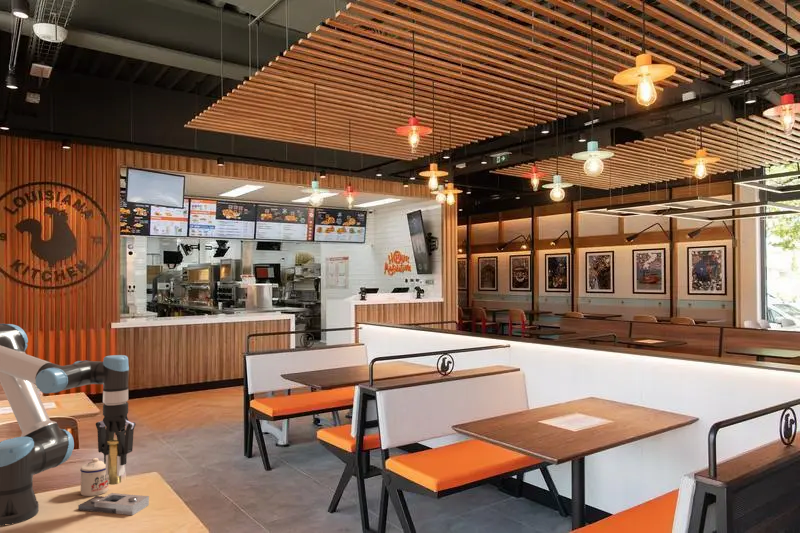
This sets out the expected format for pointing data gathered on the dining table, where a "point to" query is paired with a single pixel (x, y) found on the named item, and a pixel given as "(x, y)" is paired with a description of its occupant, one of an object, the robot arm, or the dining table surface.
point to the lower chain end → (90, 507)
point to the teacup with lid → (94, 478)
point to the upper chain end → (123, 503)
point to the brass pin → (113, 461)
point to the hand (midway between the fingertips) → (115, 474)
